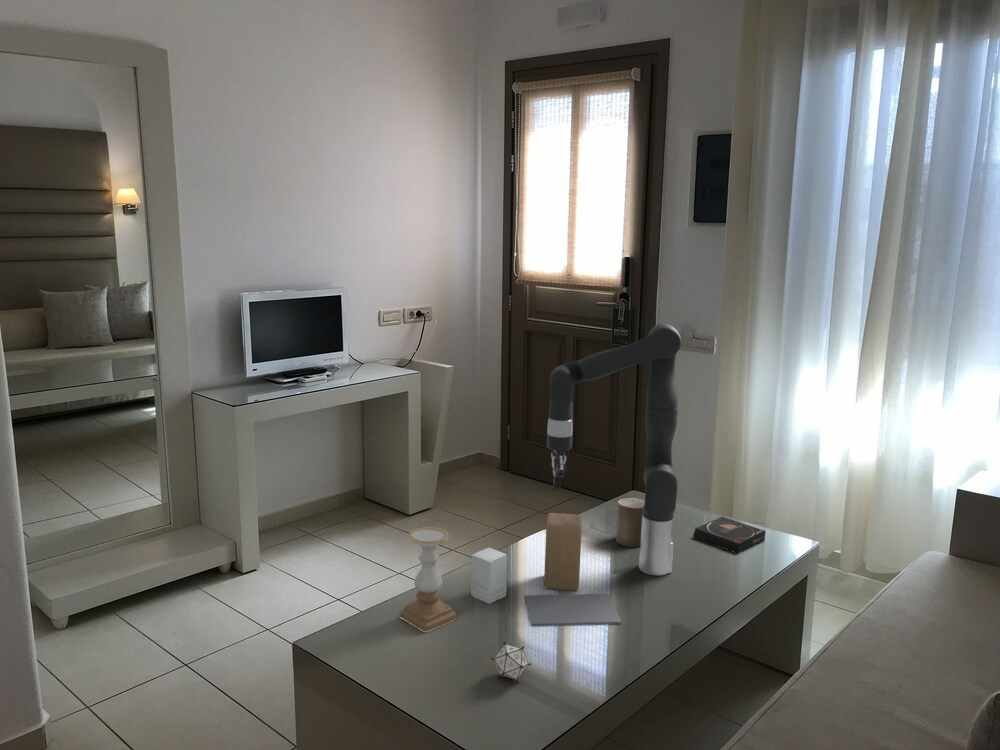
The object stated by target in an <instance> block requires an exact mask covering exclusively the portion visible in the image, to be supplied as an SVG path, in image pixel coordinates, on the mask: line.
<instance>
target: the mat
mask: <svg viewBox="0 0 1000 750" xmlns="http://www.w3.org/2000/svg"><path fill="white" fill-rule="evenodd" d="M523 597H524V601H525V605H526V608H527V613H528V617H529V621H530V624H531V625H530V626H532V627H539V626H542V627H543V626H545V627H546V626H548V627H549V626H582V625H583V626H584V625H586V626H587V625H588V626H589V625H590V626H591V625H622V623H623V622H622V620H621V618H620V616H619V613H618V611H617V609H616V607H615V605H614V603H613V601H612V598H611V597H610V594H609V593H608V592H607V593H605V592H604V593H561V594H557V593H556V594H524V595H523Z"/></svg>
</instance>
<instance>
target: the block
mask: <svg viewBox="0 0 1000 750" xmlns="http://www.w3.org/2000/svg"><path fill="white" fill-rule="evenodd" d="M582 525H583V522H582V515H580V514H575V513H558V512H557V513H556V512H550V513H548V514H547V516H546V526H545V527H546V528H545V529H546V530H545V549H544V550H545V555H544V578H543V579H544V580H543V586H544V588H545V589H547V590H560V591H571V592H572V591H573V592H576V591H578V590H579V589H580V588H579V587H580V571H581V552H582V548H581V547H582V534H583V533H582V532H583V531H582V529H583V526H582Z"/></svg>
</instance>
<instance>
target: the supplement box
mask: <svg viewBox="0 0 1000 750" xmlns="http://www.w3.org/2000/svg"><path fill="white" fill-rule="evenodd" d="M507 566H508V554H506V553H503V552H502V551H499V550H496V549H494V548H491V547H487V548H484V549H481V550H479V551H478V552H475V553H473V554H471V569H470V570H471V571H470V572H471V575H470V576H471V577H470V578H471V579H470V580H471V581H470V583H471V584H470V585H471V588H470V591H471V593H470V594H471V595H472V596H474V597H473V598H475V597H476V598H475V599H477V598H478V599H477V600H479V599H480V600H479V601H481V600H482V601H481V602H483V601H484V603H485V602H486V604H488V603H489V604H488V605H491V604H493V603H495V602H497V601H499V600H501V599H503V598H505V597H507V580H508V574H507V573H508V569H507V568H508V567H507ZM471 595H470V596H471ZM472 596H471V597H472ZM498 599H499V600H498ZM496 600H497V601H496ZM494 601H495V602H494ZM492 602H493V603H492ZM490 603H491V604H490Z"/></svg>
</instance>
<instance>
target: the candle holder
mask: <svg viewBox="0 0 1000 750" xmlns="http://www.w3.org/2000/svg"><path fill="white" fill-rule="evenodd" d="M408 538H409V541H411V542H412V543H413V544H415V545H419V546H420V547H421V553H420V554H419V555H418V560H419V561H420V563H421V568H420V570H419V571H418V572H417V574H416V575H415V579H414V586H415V588H416V589H417V590H418V591H417V592H416V598H417V600H415V601H413V602H411V603H409V604H407V605H405V606H403V609H402V610H401V611H400V612H399V618H400V617H402V618H404V619H405V620H407V621H408V622H410V623H412V624H413V625H415V626H416V627H418V628H420V629H422V630H423V631H428V630H431V629H433V628H436V627H438V626H441V625H443V624H446V623H448V622H450V621H452V620H454V619H456V620H457V612H455V611H453V608H452V606H450V605H449V604H447V603H445V602H444V601H442V600H441V599H440V597H441V594H440V591H439V590H440V588H442V586H443V578H442V576H441V574H440V572H439V571H438V569H437V568H436V563H437V561H439V559H440V558H439V555H438V554H437V552H436V549H437V547H438V545H441V544H443V543H446V542H447V540H448V539H449V533H448V531H446V530H445V529H443V528H440V527H434V526H423V527H418V528H416V529H413V530H411V532H410V533H409V537H408ZM446 625H447V624H446Z"/></svg>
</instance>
